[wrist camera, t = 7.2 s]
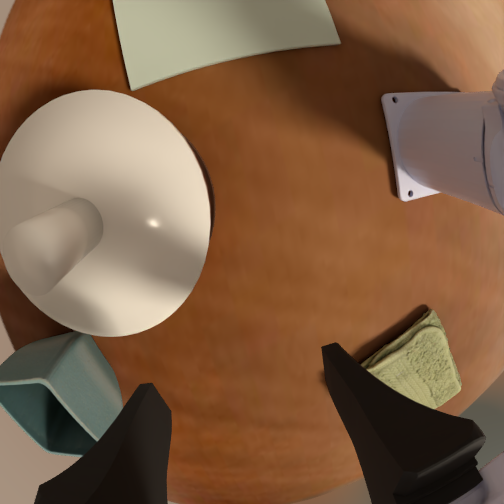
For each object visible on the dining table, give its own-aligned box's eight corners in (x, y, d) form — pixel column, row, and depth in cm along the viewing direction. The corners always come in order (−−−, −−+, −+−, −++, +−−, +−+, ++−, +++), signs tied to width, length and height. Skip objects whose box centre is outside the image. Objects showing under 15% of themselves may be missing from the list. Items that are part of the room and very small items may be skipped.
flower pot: (27, 322, 21) (-20, 383, 12) (92, 303, 21) (43, 378, 12) (74, 389, 24) (47, 454, 16) (140, 380, 24) (121, 460, 15)
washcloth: (427, 297, 24) (445, 314, 21) (456, 374, 30) (468, 388, 27) (319, 380, 26) (328, 403, 23) (380, 431, 32) (388, 448, 29)
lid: (179, 56, 10) (153, 8, 6) (237, 307, 15) (244, 379, 10) (-17, 149, 10) (-80, 162, 5) (49, 338, 15) (14, 392, 10)
